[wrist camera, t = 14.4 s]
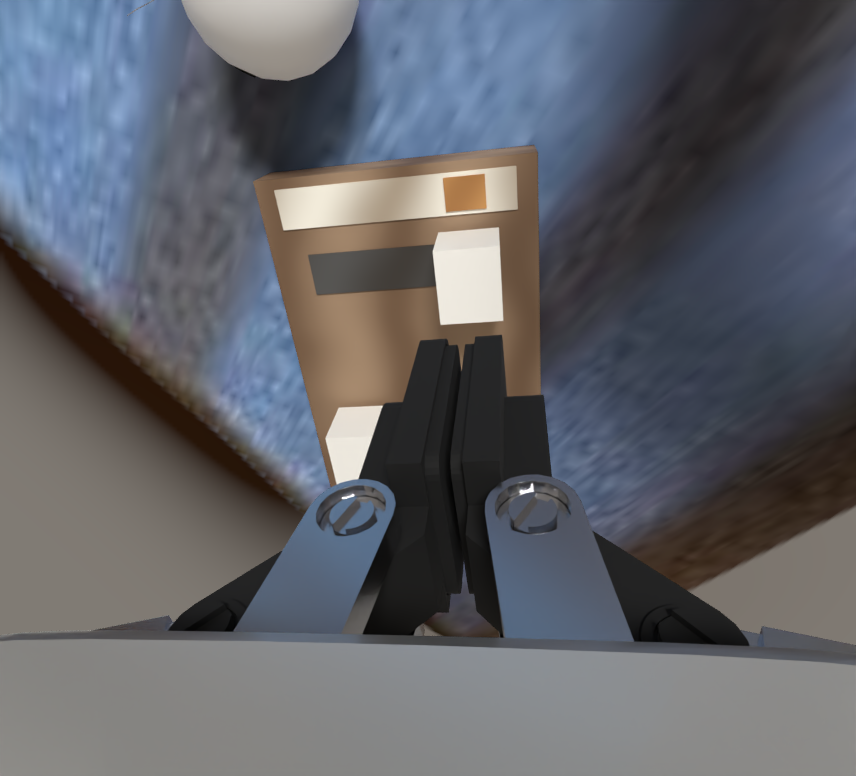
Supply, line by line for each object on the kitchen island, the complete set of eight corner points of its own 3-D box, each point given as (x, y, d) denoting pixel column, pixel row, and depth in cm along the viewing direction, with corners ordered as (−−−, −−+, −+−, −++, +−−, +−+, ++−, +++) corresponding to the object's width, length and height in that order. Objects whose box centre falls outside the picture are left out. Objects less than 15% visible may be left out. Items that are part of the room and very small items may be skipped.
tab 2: (498, 227, 27) (499, 246, 25) (502, 296, 29) (503, 320, 27) (438, 232, 28) (432, 251, 25) (445, 300, 30) (440, 324, 27)
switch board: (534, 144, 28) (538, 152, 26) (539, 461, 38) (542, 487, 36) (270, 173, 30) (251, 182, 28) (340, 466, 40) (330, 491, 38)
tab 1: (387, 405, 33) (377, 436, 31) (395, 453, 35) (387, 487, 32) (338, 407, 34) (325, 438, 31) (349, 455, 36) (337, 488, 33)
